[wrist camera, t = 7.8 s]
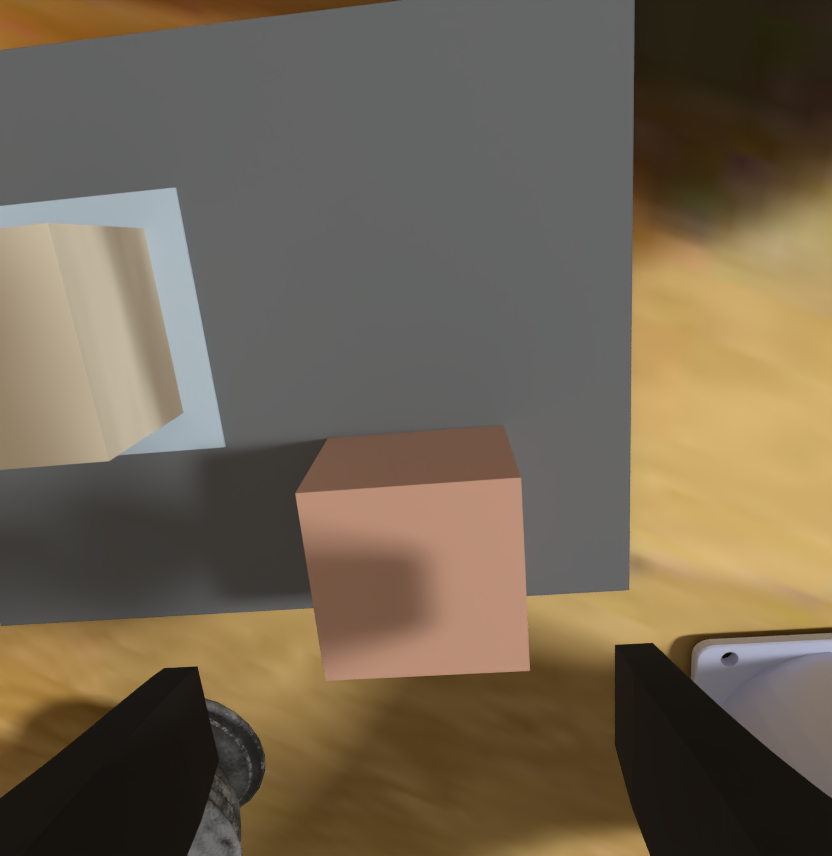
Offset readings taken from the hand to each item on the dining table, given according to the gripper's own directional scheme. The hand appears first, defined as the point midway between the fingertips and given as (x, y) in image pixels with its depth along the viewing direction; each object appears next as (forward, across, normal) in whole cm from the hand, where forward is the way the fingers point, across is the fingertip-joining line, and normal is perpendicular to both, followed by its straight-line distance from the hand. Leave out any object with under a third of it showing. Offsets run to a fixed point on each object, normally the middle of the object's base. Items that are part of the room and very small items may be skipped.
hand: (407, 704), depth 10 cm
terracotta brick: (+8, 0, 0) cm, 8 cm away
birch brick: (+8, +9, -6) cm, 13 cm away
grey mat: (+8, +4, -5) cm, 10 cm away
